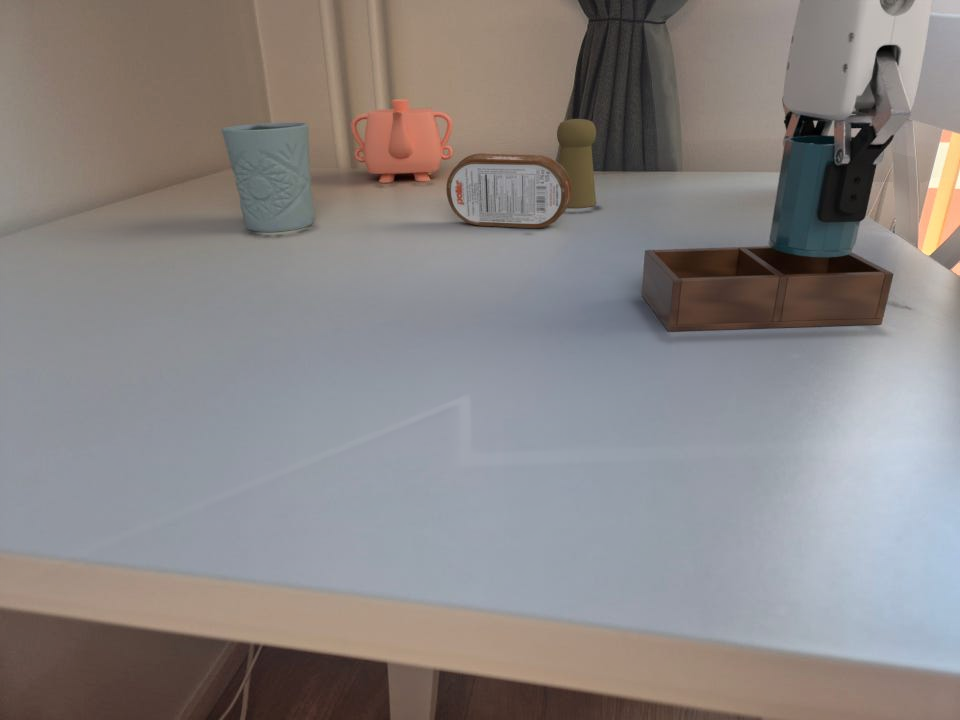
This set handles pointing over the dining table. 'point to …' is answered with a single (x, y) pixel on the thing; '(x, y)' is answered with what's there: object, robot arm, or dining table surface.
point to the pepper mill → (578, 160)
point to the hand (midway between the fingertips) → (817, 208)
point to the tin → (509, 190)
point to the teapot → (402, 141)
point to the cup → (807, 202)
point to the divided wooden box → (761, 289)
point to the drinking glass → (272, 174)
